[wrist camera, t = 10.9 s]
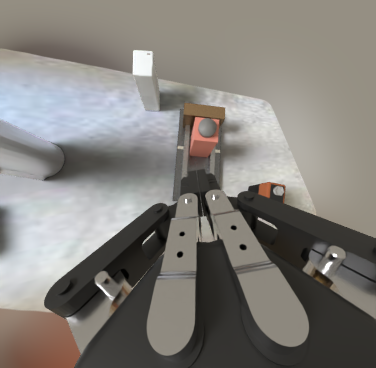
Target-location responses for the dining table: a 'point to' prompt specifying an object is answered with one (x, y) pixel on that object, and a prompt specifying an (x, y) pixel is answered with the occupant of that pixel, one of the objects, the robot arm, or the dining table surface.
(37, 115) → the dining table surface
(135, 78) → the skincare box
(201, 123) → the pink dome-topped pillar
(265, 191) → the battery
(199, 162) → the rail
